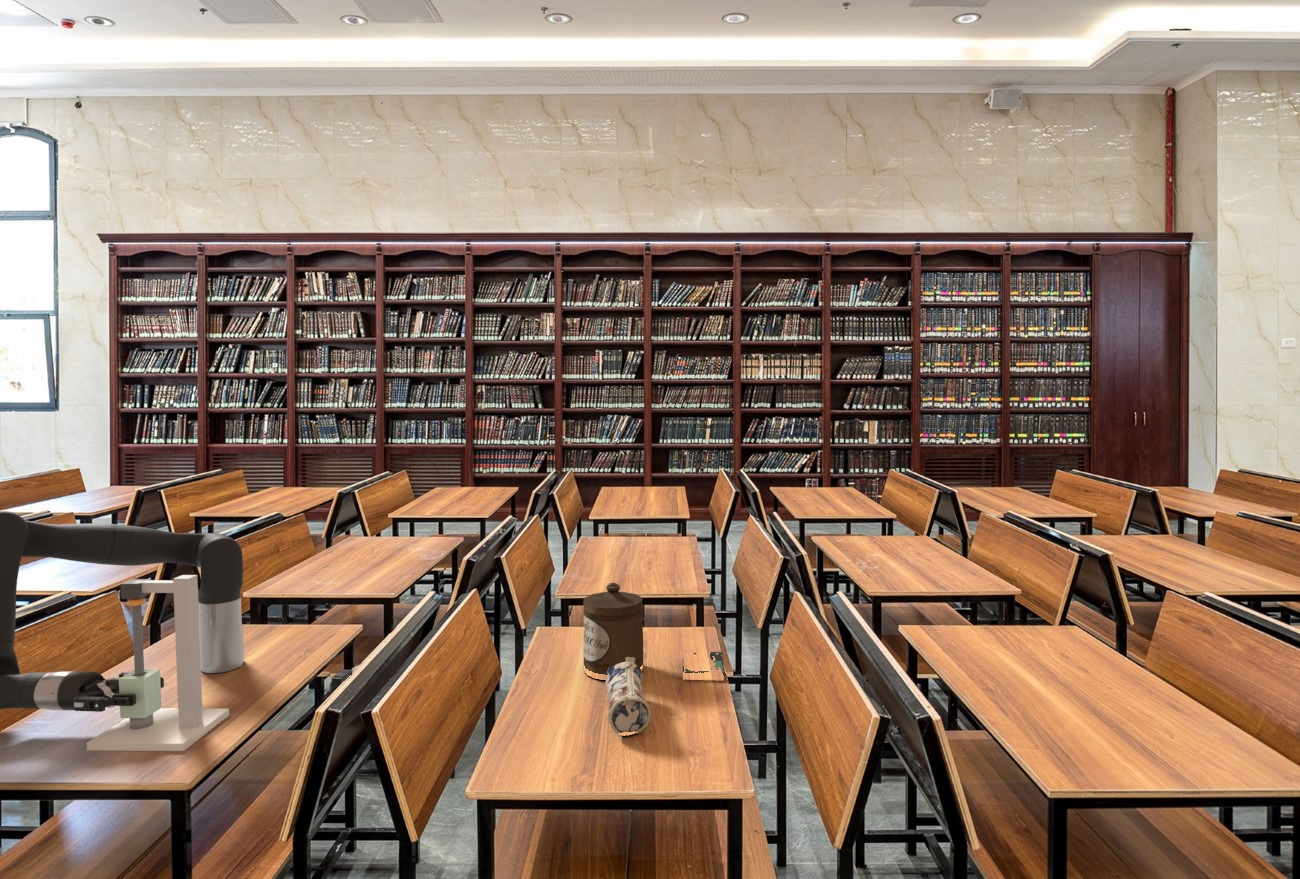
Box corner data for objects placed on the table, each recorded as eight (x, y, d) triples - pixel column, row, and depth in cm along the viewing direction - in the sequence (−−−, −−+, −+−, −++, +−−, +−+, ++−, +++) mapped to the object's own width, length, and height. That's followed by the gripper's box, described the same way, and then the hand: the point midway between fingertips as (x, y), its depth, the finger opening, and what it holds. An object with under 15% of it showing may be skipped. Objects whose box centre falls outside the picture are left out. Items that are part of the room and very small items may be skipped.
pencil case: (605, 698, 174) (605, 656, 173) (642, 697, 175) (642, 655, 174) (608, 743, 152) (608, 694, 151) (651, 741, 153) (651, 693, 152)
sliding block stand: (142, 714, 164) (136, 567, 161) (229, 715, 164) (224, 567, 161) (87, 750, 148) (79, 586, 145) (183, 751, 148) (176, 587, 145)
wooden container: (575, 665, 194) (575, 579, 193) (630, 657, 200) (630, 574, 198) (594, 686, 181) (594, 594, 179) (652, 677, 186) (653, 587, 185)
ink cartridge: (342, 713, 165) (341, 677, 164) (332, 713, 165) (331, 677, 164) (354, 703, 170) (352, 668, 169) (344, 703, 170) (342, 668, 169)
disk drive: (682, 661, 199) (682, 682, 184) (682, 650, 199) (682, 671, 184) (722, 662, 199) (725, 683, 184) (722, 651, 198) (725, 671, 184)
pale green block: (137, 707, 158) (135, 669, 157) (161, 707, 158) (159, 669, 157) (120, 718, 153) (118, 678, 152) (145, 718, 153) (143, 679, 152)
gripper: (40, 686, 148) (124, 686, 148) (94, 659, 162) (170, 660, 162) (42, 724, 148) (126, 724, 148) (96, 694, 163) (172, 695, 162)
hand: (149, 691), depth 155 cm, fingers open, 8 cm apart
